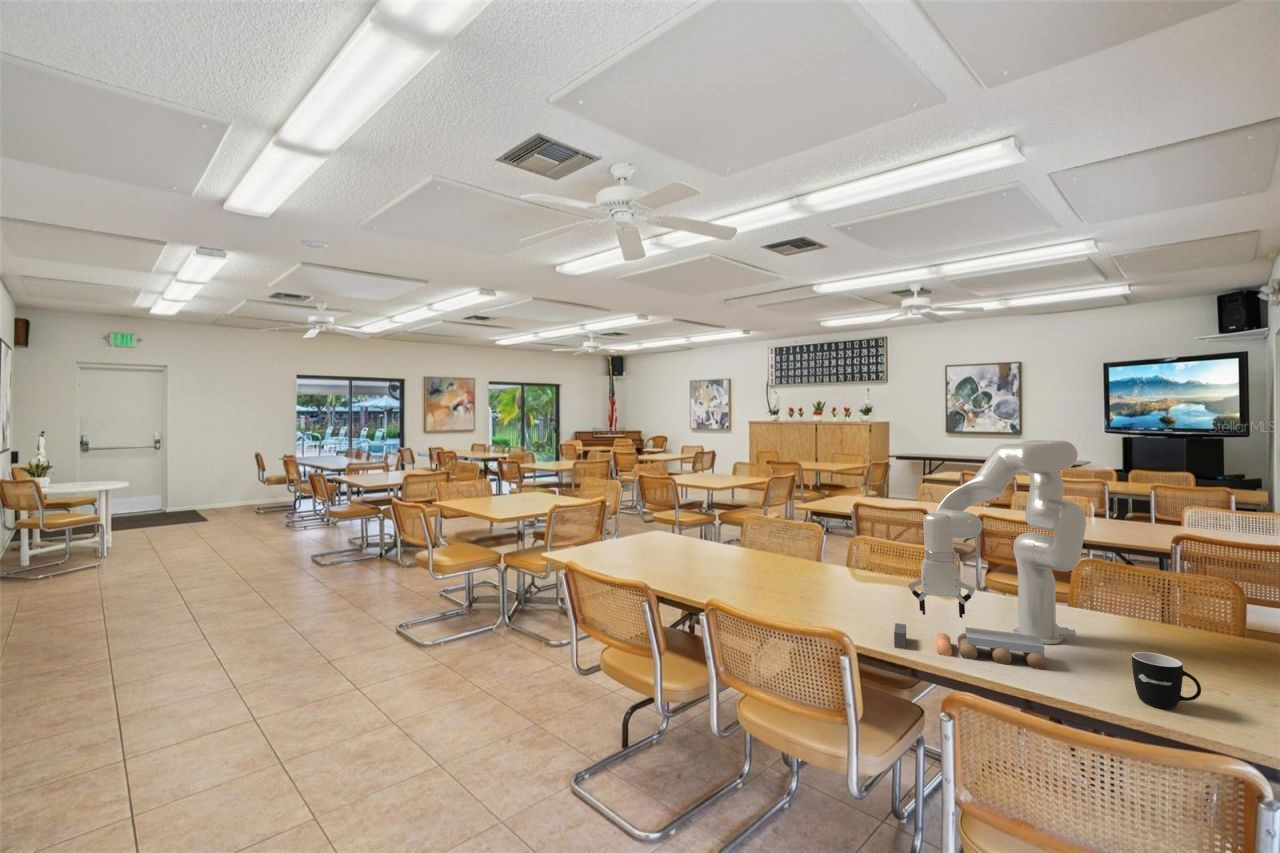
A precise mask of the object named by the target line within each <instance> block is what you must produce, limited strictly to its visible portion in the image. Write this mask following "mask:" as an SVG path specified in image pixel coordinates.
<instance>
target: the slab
mask: <svg viewBox="0 0 1280 853" xmlns="http://www.w3.org/2000/svg"><path fill="white" fill-rule="evenodd" d="M964 629H965V630H964V633H965V635H966V640H967V644H971V645H974V646H976V647H982V648H988V649H990V648H996V649H997V648H1004V649H1006V650H1009V651H1012V652H1021V653H1023V652H1026V653H1034V652H1036V653H1040V654H1042V655H1044V656H1045V644H1043V643H1042V641H1041V640H1040V638H1039V636H1035V635H1026V634H1018V633H1013V632H1011V631H1010V632H1009V631H1001V630H992V629H984V628H976V627H967V626H965V627H964Z"/></svg>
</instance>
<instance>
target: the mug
mask: <svg viewBox="0 0 1280 853" xmlns="http://www.w3.org/2000/svg"><path fill="white" fill-rule="evenodd" d="M1183 666H1184V665H1183V662H1181V661H1180V660H1178V659H1176V658H1174V657H1171V656H1168V655H1165V654H1160V653H1156V652H1147V651H1138V652H1134V653H1132V655H1131V667H1132V676H1133V680H1134V681H1133V682H1134V687H1135V691H1136V694H1137V696H1138V698H1139V699H1140V701H1142V703H1144V704H1147V705H1149V706H1153V707H1155V708H1160V709H1174V708H1176V707H1177V706H1178V704H1179V703H1180V702H1190V701H1194V700H1196V699H1198V698H1199V697H1200V696H1201V693H1202V687H1201V686H1202V685H1201V684H1200V682H1199V681H1198V679H1197V678H1196V677H1195V676H1193V675H1192V674H1191V673H1189V672H1187V671H1185V670H1184V668H1183ZM1184 677H1187V678H1189V679H1190V680H1192V681H1193V682H1194V684H1195V686H1196V692H1195V694H1194V695H1191V696H1183V695H1182V688H1183V678H1184Z"/></svg>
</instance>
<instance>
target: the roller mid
mask: <svg viewBox="0 0 1280 853" xmlns="http://www.w3.org/2000/svg"><path fill="white" fill-rule="evenodd" d="M989 649H990V652H991V653H990V654H991V655H992V659H993V660H994V662H995V663H997V664H999V665H1005V666H1006V665H1008V664H1010V663H1011V661H1012V655H1011V652H1010V650H1006V649H1004V648H997V649H996V648H989Z"/></svg>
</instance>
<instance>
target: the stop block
mask: <svg viewBox="0 0 1280 853" xmlns="http://www.w3.org/2000/svg"><path fill="white" fill-rule="evenodd" d="M893 640H894V641H893V642H894V643H893V644H894V648H895V649H899V650H900V649H902V650H906V649H907V624H906V623H897V622H896V623H895V624H894V630H893Z"/></svg>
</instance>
